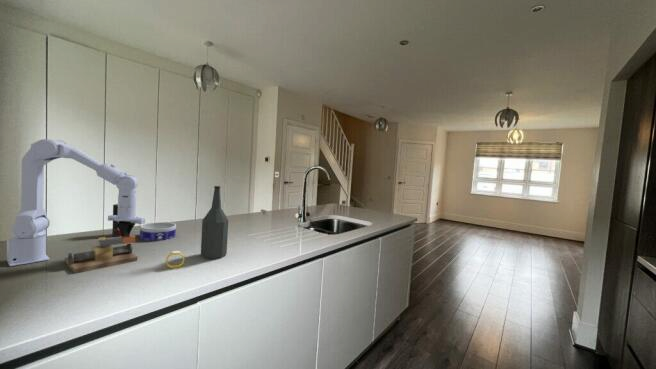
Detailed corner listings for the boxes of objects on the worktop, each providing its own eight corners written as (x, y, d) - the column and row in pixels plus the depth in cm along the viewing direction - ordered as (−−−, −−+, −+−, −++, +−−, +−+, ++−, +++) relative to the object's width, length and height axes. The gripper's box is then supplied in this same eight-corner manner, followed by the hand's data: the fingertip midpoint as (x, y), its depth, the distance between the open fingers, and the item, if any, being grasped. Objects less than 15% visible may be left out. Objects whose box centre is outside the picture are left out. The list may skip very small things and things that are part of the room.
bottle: (216, 260, 111) (220, 187, 109) (195, 257, 113) (199, 185, 111) (230, 253, 121) (234, 186, 119) (211, 250, 123) (214, 184, 121)
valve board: (74, 273, 90) (75, 257, 90) (64, 262, 99) (64, 247, 98) (137, 260, 105) (137, 246, 105) (123, 251, 113) (124, 238, 113)
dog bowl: (172, 231, 147) (172, 220, 147) (178, 239, 136) (179, 227, 135) (138, 234, 138) (138, 223, 137) (141, 243, 126) (142, 230, 126)
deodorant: (114, 237, 130) (115, 206, 129) (110, 234, 134) (111, 204, 133) (129, 235, 135) (130, 205, 134) (125, 232, 139) (125, 203, 138)
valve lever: (98, 247, 100) (98, 239, 99) (97, 245, 101) (97, 237, 101) (135, 242, 108) (135, 235, 108) (133, 240, 110) (133, 233, 110)
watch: (183, 265, 105) (185, 250, 105) (183, 268, 102) (185, 252, 102) (165, 266, 102) (167, 250, 101) (165, 269, 99) (167, 253, 99)
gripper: (100, 205, 105) (99, 240, 106) (135, 209, 103) (133, 244, 104) (117, 203, 112) (116, 236, 113) (149, 207, 110) (148, 240, 111)
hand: (125, 240), depth 109 cm, fingers closed
